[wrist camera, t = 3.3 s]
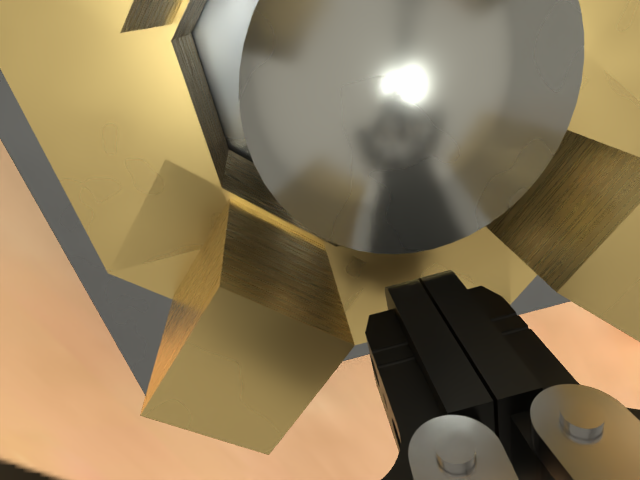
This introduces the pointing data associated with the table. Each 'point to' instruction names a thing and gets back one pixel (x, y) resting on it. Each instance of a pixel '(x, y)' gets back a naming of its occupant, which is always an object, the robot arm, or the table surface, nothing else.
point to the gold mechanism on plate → (357, 128)
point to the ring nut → (277, 224)
